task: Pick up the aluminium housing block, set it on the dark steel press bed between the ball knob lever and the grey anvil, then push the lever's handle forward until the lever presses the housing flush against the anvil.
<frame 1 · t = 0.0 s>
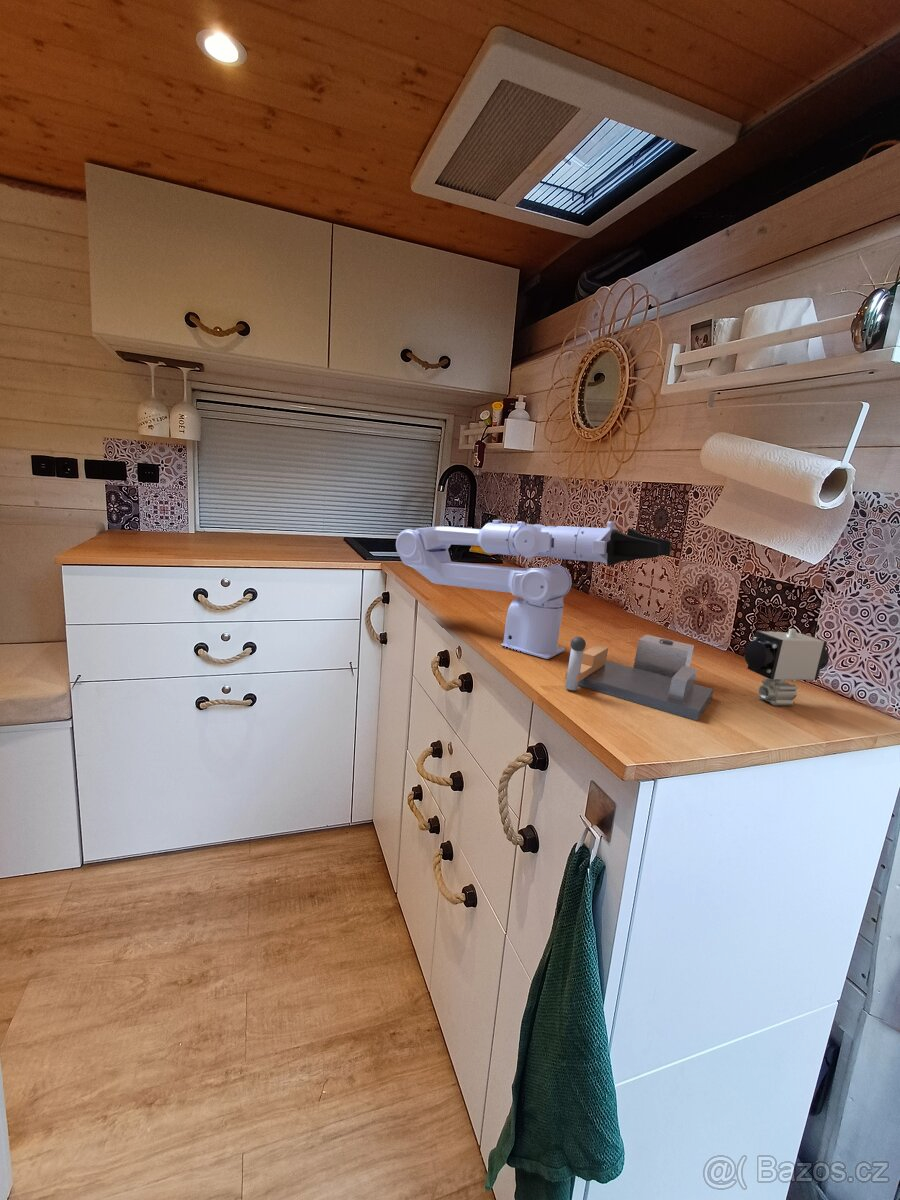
hand: (664, 549, 88), 22 cm above the worktop, tool horizontal, fingers open, 7 cm apart
housing: (659, 675, 95), on the worktop
press bed: (642, 691, 86), on the worktop
pneumatic valve: (772, 702, 88), on the worktop
ball knob lever: (588, 655, 87), point 4 cm above the worktop, slide at 0.0 cm
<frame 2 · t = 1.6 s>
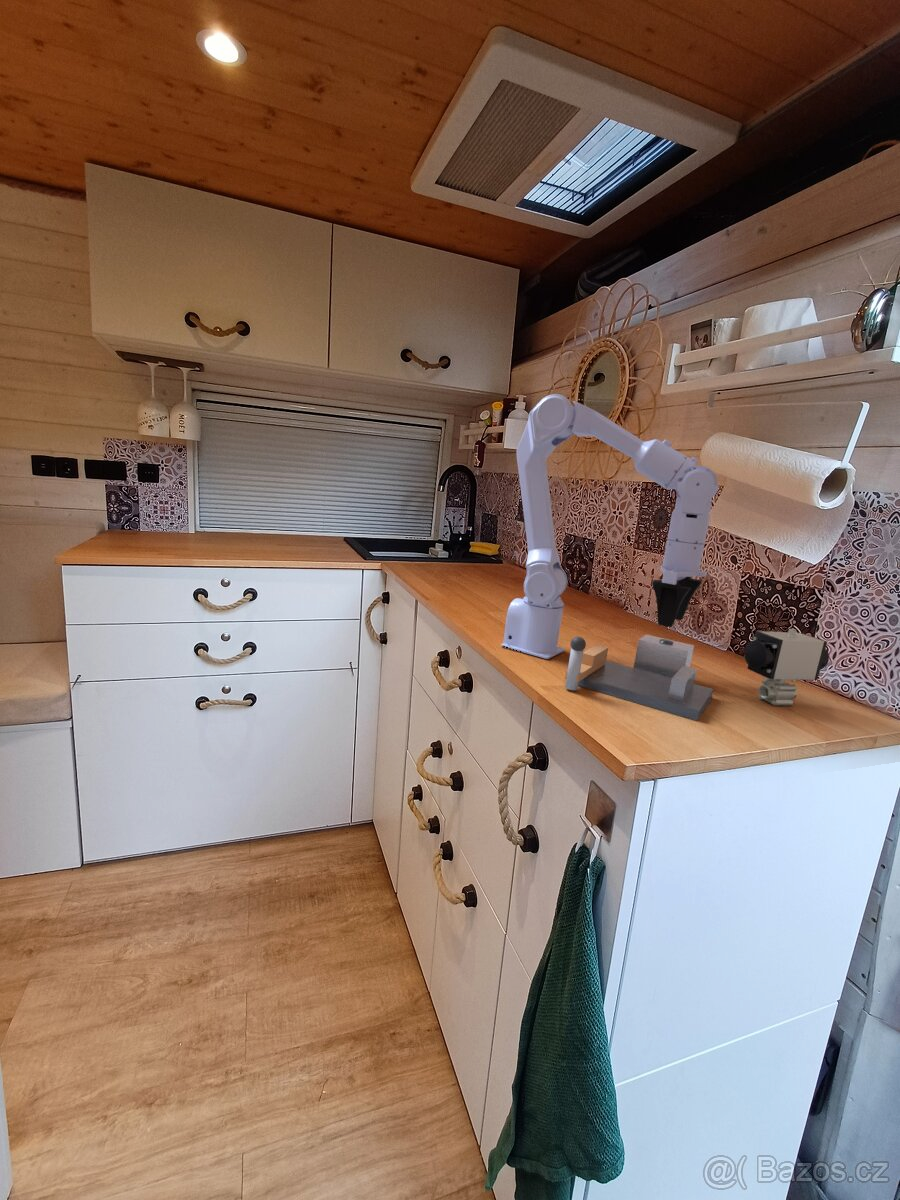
hand: (670, 622, 93), 9 cm above the worktop, tool pointing down, fingers open, 7 cm apart
nothing on the worktop moved.
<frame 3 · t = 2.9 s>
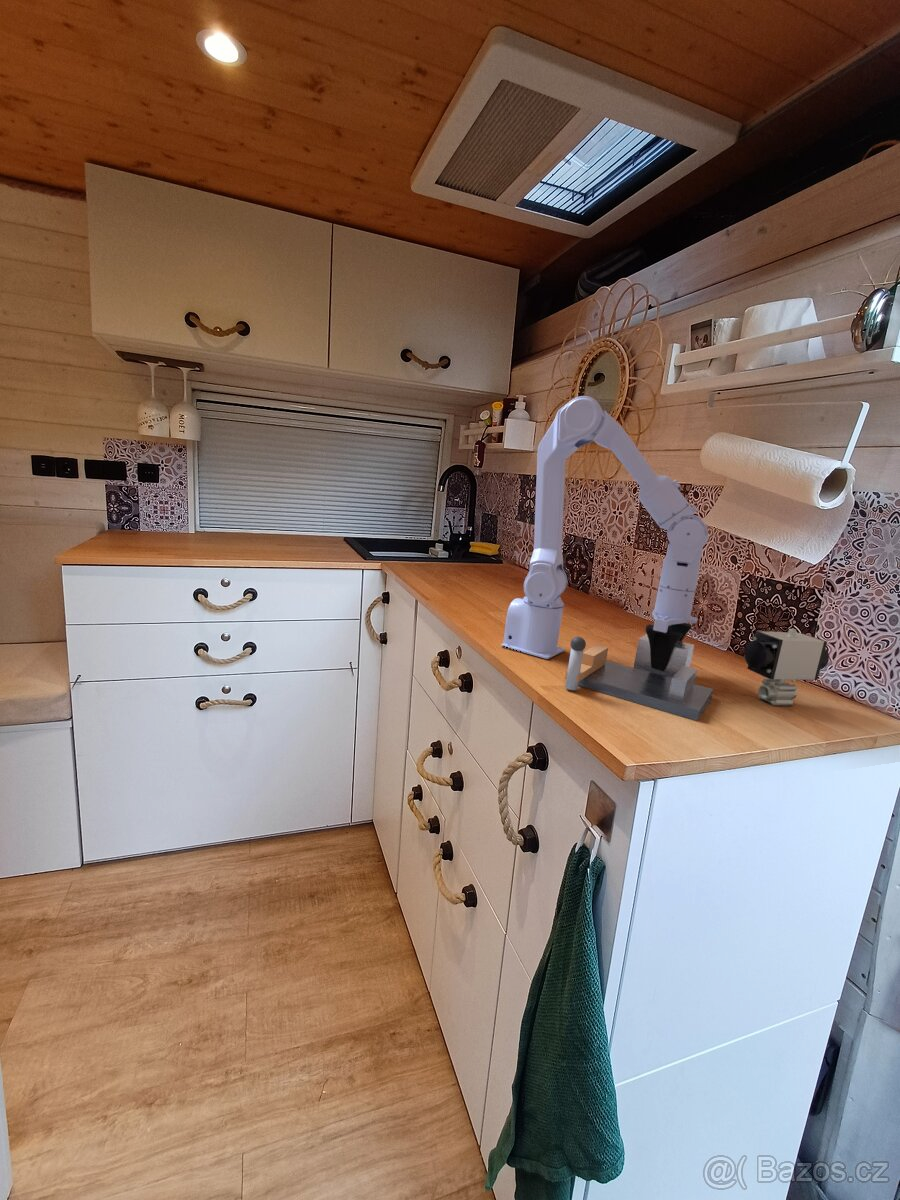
hand: (661, 665, 95), 2 cm above the worktop, tool pointing down, fingers closed on housing, 5 cm apart
housing: (660, 675, 95), on the worktop, touching gripper
everything else where it was.
when the fingers open (4 cm above the worktop, at t = 6.2 s): housing stays where it is, resting on press bed.
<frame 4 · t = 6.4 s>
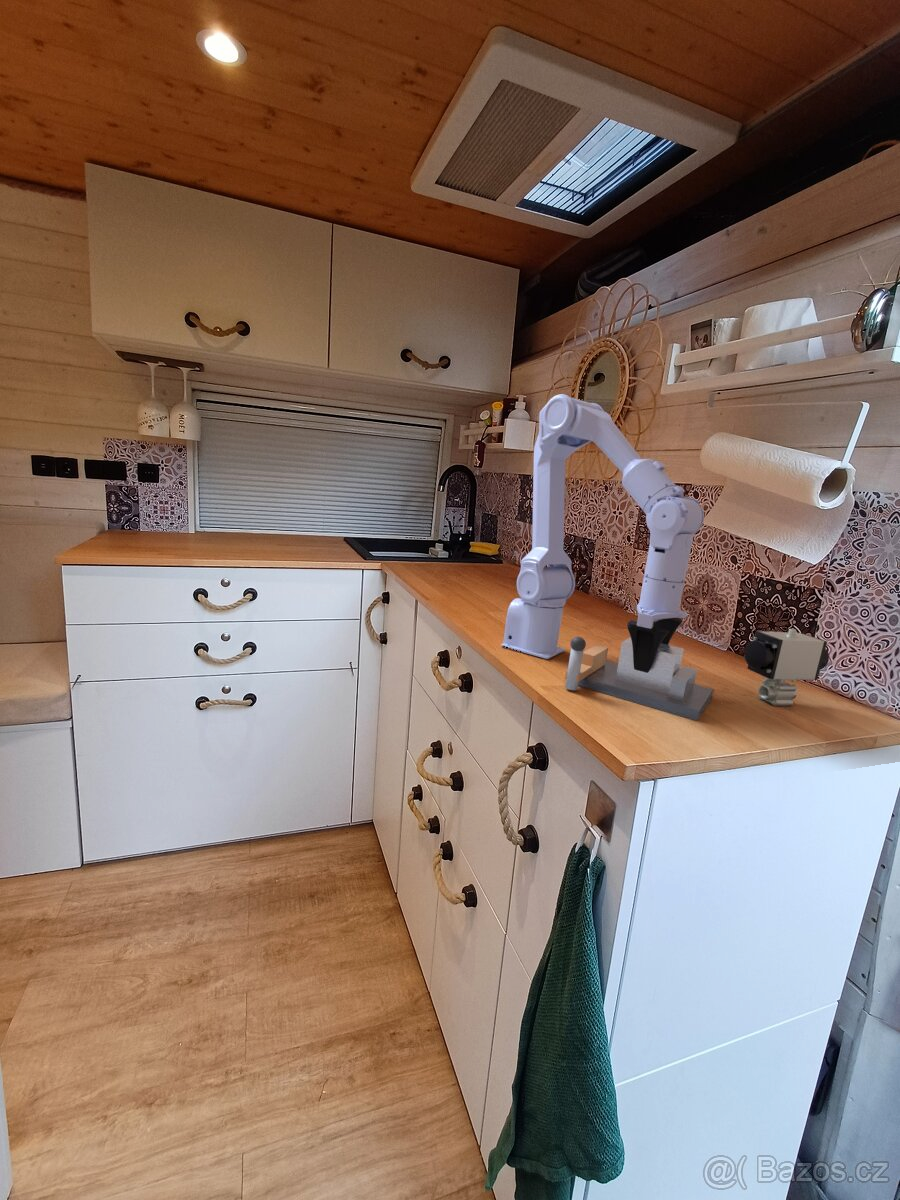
hand: (647, 665, 85), 4 cm above the worktop, tool pointing down, fingers open, 7 cm apart
housing: (645, 682, 86), point 1 cm above the worktop, touching press bed
everything else where it was.
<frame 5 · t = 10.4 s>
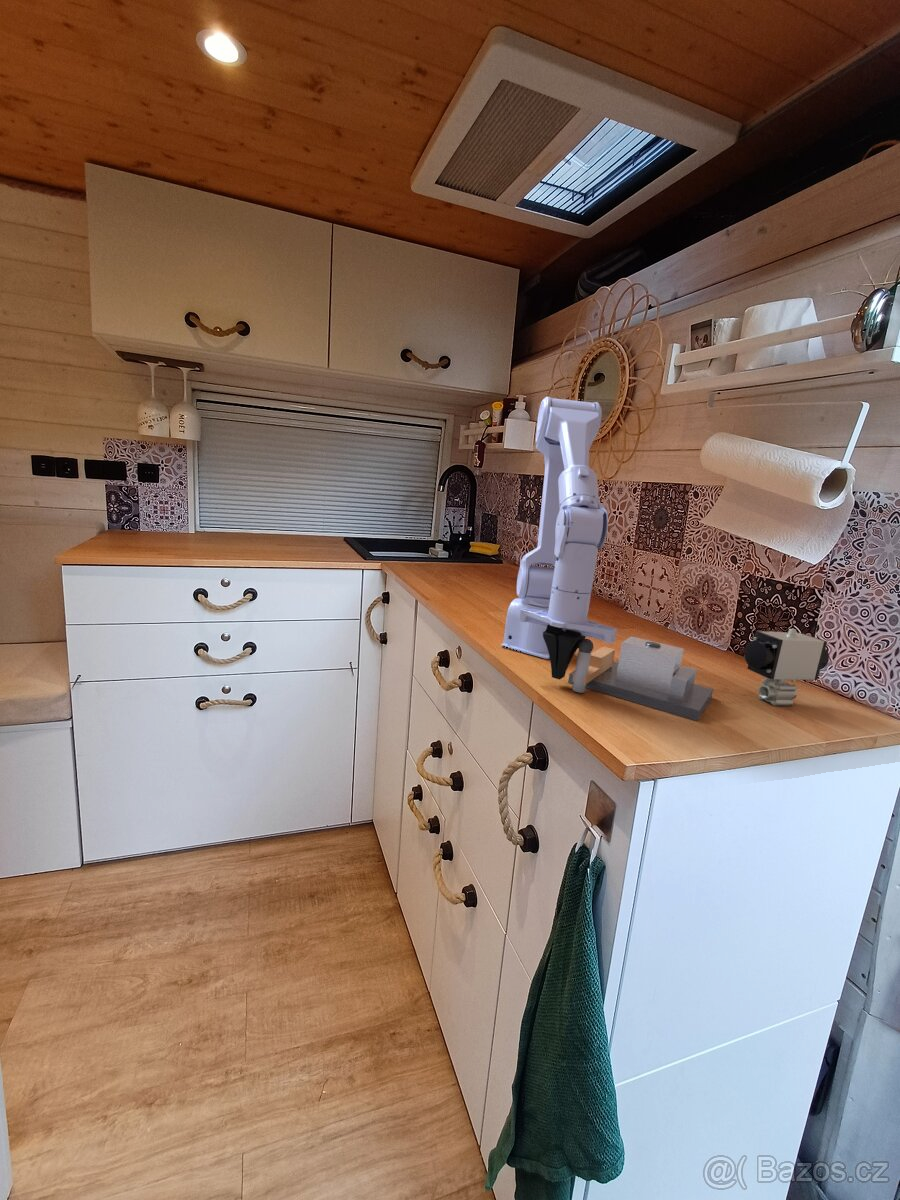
hand: (558, 677, 84), 1 cm above the worktop, tool pointing down, fingers closed
ball knob lever: (595, 657, 87), point 4 cm above the worktop, slide at 1.2 cm, touching gripper
everything else where it was.
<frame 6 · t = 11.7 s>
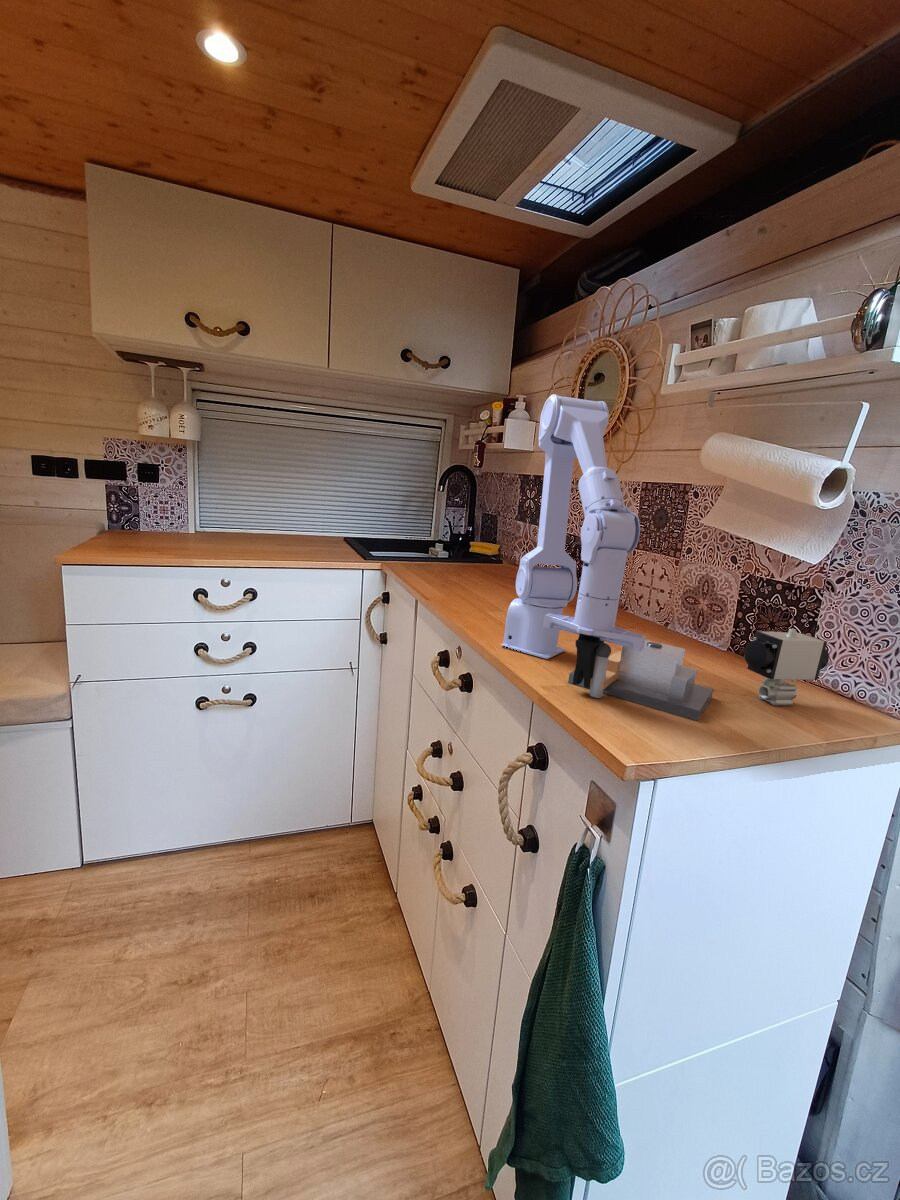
hand: (583, 684, 82), 1 cm above the worktop, tool pointing down, fingers closed, pressing on ball knob lever
housing: (647, 682, 86), point 1 cm above the worktop, touching press bed, ball knob lever
ball knob lever: (612, 661, 85), point 4 cm above the worktop, slide at 3.8 cm, touching gripper, housing
everything else where it was.
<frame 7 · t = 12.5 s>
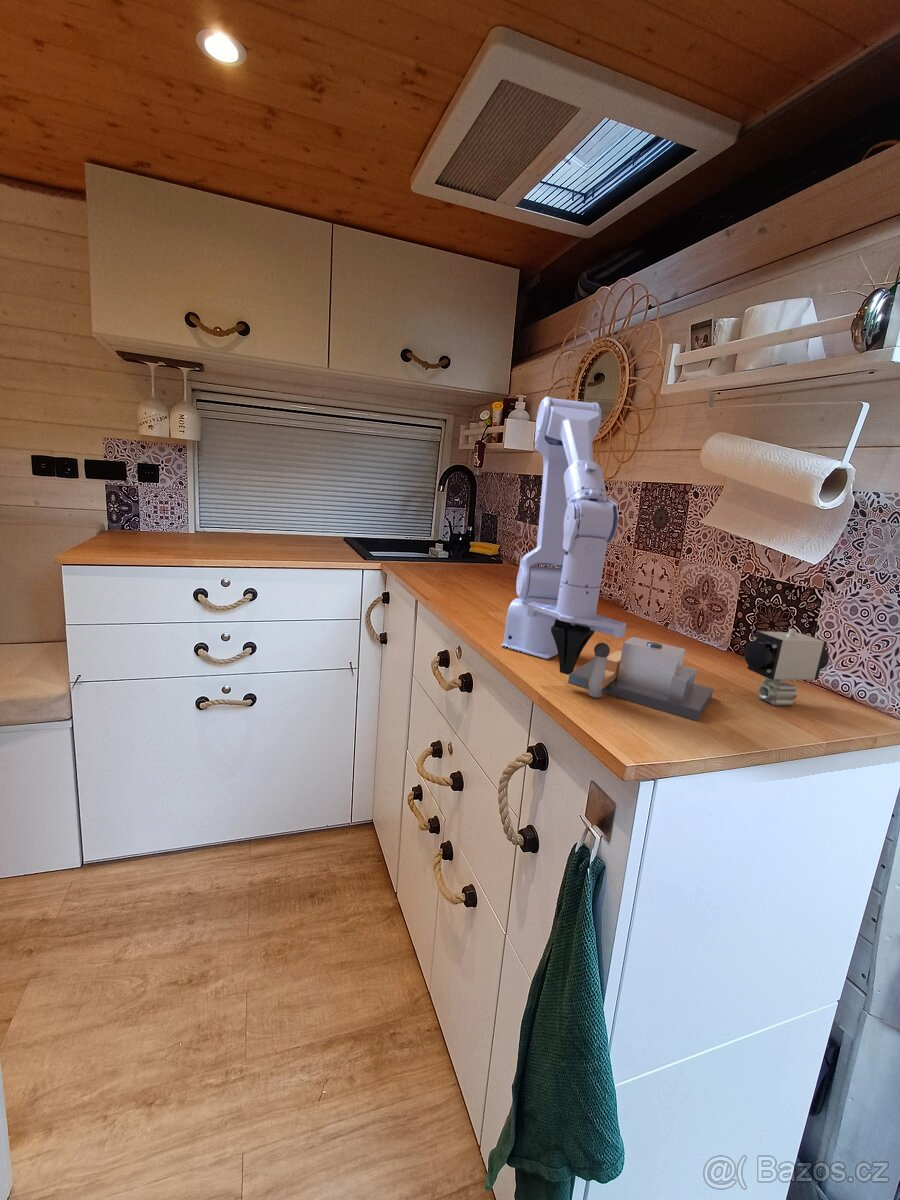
hand: (566, 672, 84), 2 cm above the worktop, tool pointing down, fingers closed
housing: (647, 682, 86), point 1 cm above the worktop, touching press bed
ball knob lever: (610, 661, 85), point 4 cm above the worktop, slide at 3.6 cm
everything else where it was.
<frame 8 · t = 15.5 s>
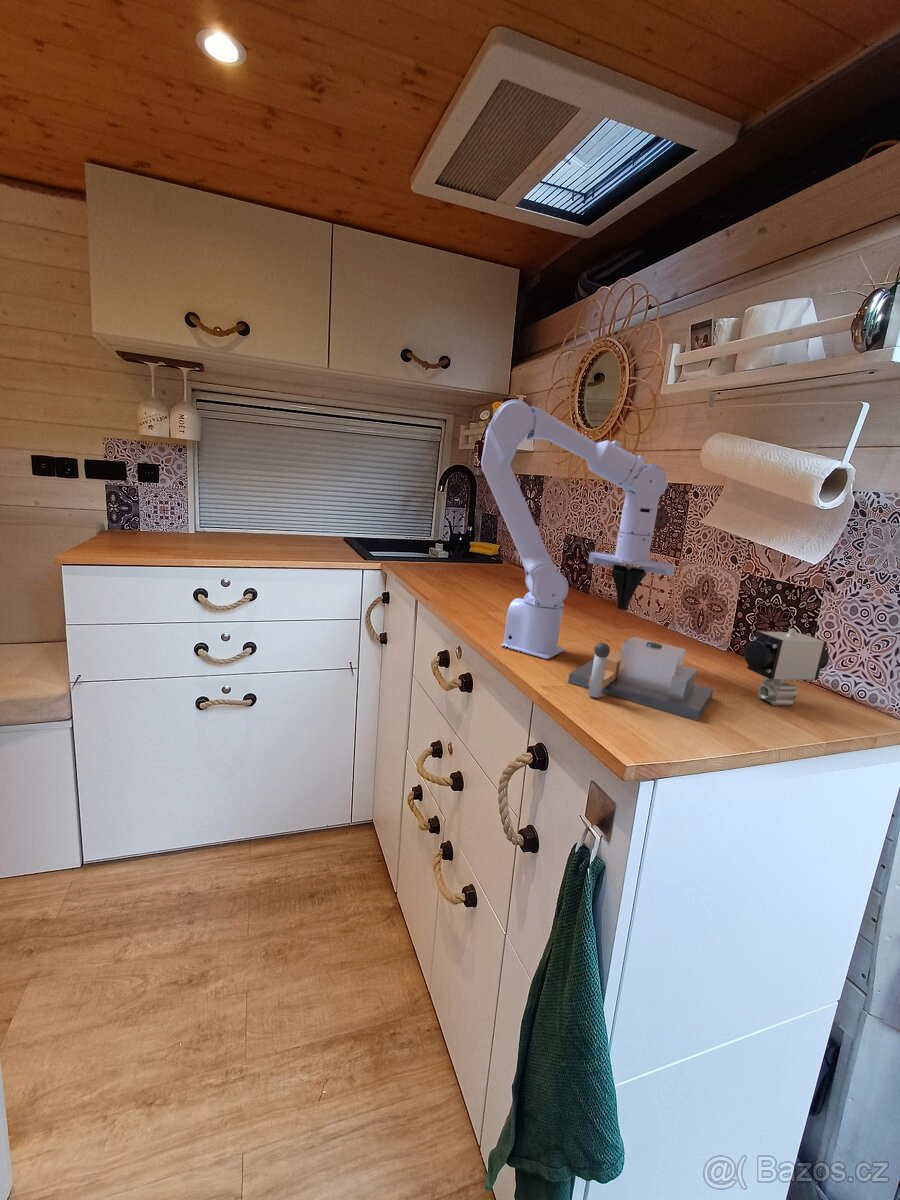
hand: (622, 608, 101), 9 cm above the worktop, tool pointing down, fingers closed
nothing on the worktop moved.
at the end: housing 0.2 cm from the target spot, point 1.5 cm above the worktop; ball knob lever slide at 3.6 cm; housing tilted 0° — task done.
